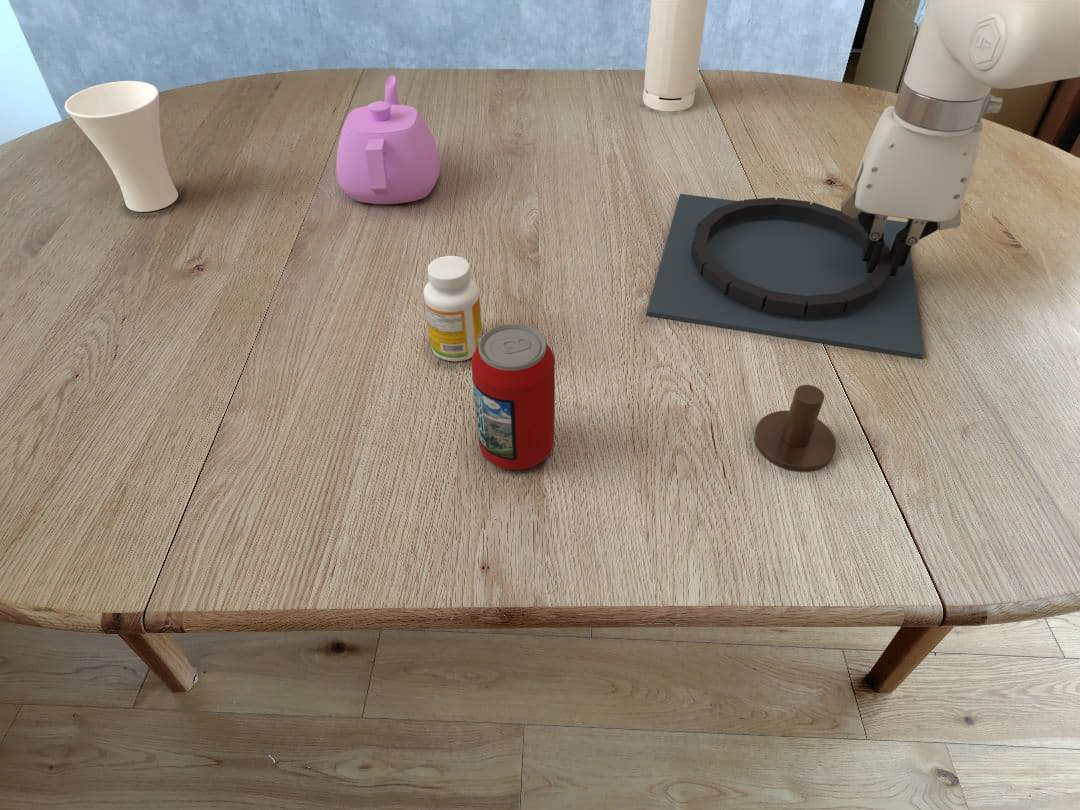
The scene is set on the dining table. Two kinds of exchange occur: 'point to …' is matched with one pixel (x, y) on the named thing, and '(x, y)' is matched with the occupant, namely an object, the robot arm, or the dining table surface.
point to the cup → (127, 139)
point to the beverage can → (514, 396)
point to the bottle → (673, 53)
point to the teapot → (387, 152)
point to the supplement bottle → (452, 309)
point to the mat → (785, 280)
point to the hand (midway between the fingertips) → (880, 266)
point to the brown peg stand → (797, 434)
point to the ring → (779, 300)
